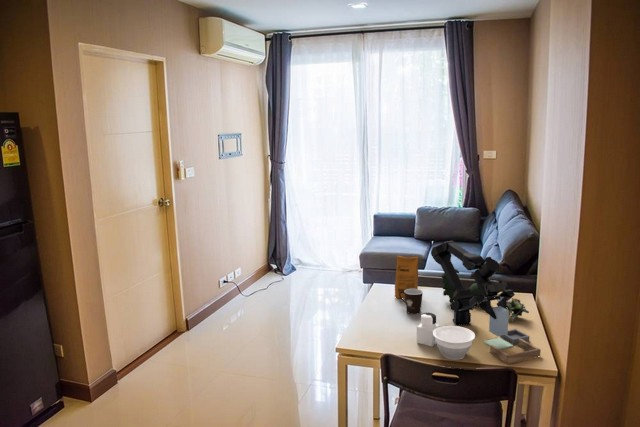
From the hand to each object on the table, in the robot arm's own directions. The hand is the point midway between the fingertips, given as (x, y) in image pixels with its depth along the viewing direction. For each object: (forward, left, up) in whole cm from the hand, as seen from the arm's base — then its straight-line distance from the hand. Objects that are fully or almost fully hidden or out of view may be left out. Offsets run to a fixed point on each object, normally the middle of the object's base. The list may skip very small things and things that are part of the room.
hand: (501, 317), depth 195 cm
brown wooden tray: (+3, -8, -12) cm, 14 cm away
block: (0, +1, -7) cm, 7 cm away
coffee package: (-26, +60, -12) cm, 67 cm away
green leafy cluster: (+15, +27, -12) cm, 33 cm away
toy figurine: (+2, +47, -12) cm, 49 cm away
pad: (0, +1, -12) cm, 12 cm away
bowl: (-20, -6, -12) cm, 24 cm away
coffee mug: (-27, +41, -12) cm, 51 cm away
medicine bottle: (-27, +6, -12) cm, 31 cm away
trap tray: (+8, +6, -12) cm, 15 cm away
